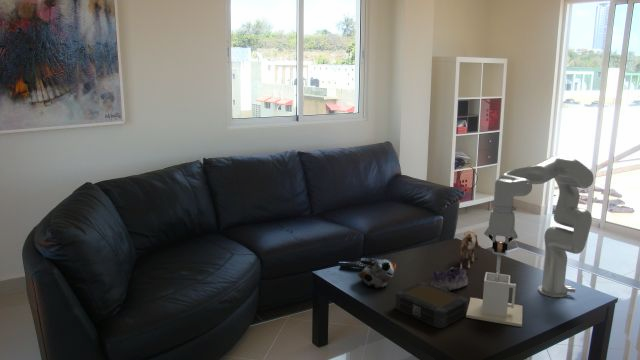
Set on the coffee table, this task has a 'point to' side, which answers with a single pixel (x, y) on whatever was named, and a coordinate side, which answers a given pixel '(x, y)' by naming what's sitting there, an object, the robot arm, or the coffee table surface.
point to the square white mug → (496, 302)
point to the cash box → (431, 304)
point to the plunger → (499, 256)
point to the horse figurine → (468, 246)
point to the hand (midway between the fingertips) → (499, 250)
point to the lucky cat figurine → (378, 273)
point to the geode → (450, 279)
